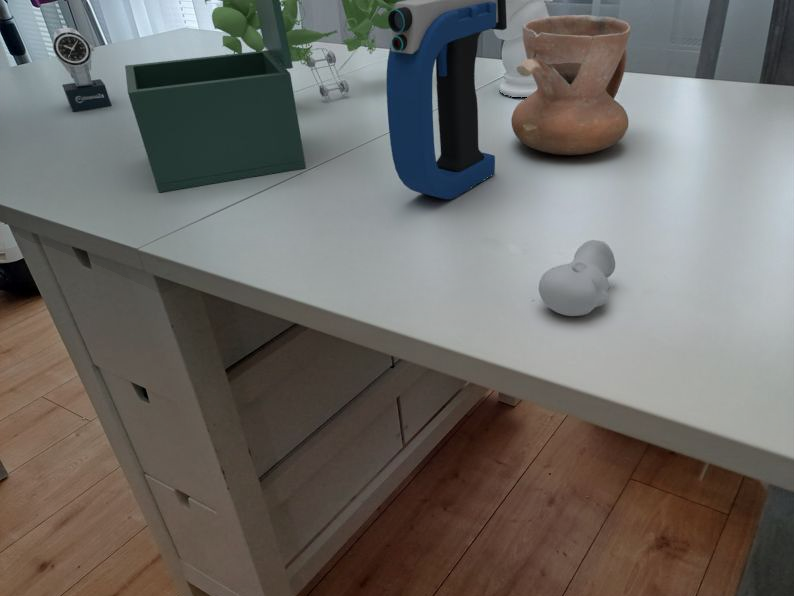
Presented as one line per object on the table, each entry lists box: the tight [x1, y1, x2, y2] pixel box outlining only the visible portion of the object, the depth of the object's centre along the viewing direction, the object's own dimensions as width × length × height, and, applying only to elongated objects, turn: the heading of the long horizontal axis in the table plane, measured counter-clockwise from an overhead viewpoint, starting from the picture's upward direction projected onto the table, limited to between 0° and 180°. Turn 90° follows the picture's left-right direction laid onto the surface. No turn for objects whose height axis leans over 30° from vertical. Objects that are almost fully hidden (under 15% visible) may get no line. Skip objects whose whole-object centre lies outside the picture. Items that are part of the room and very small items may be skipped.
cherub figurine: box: [493, 0, 554, 98], centre depth 98 cm, size 12×12×22 cm
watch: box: [52, 27, 112, 113], centre depth 100 cm, size 6×8×11 cm
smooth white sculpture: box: [538, 239, 616, 317], centre depth 53 cm, size 4×8×5 cm
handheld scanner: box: [386, 0, 507, 200], centre depth 68 cm, size 5×16×20 cm, turn 146°
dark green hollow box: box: [124, 49, 307, 193], centre depth 79 cm, size 17×13×11 cm
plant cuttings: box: [204, 0, 406, 101], centre depth 103 cm, size 35×17×22 cm
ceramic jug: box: [510, 14, 631, 156], centre depth 81 cm, size 18×14×14 cm
